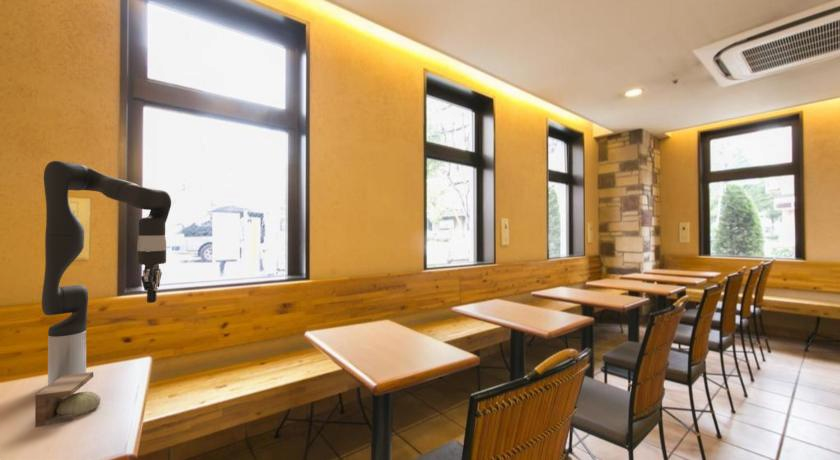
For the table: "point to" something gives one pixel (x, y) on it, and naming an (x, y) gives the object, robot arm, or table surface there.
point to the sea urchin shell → (78, 404)
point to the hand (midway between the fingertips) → (151, 302)
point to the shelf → (57, 398)
